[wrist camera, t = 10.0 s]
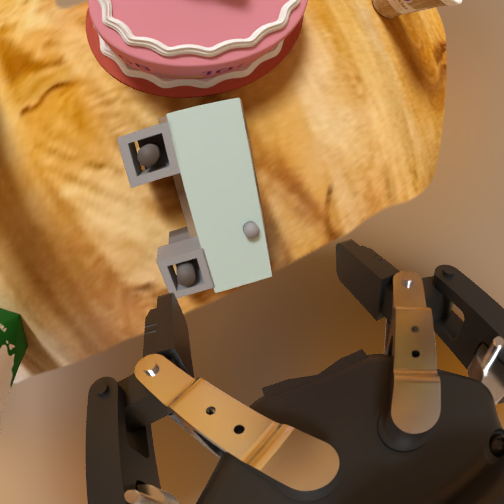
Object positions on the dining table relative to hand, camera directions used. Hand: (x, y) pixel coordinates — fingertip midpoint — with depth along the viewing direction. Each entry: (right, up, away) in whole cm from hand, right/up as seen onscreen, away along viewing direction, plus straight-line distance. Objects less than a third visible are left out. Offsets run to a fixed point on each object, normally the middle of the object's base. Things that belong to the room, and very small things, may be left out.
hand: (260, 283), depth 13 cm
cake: (-7, +29, +7) cm, 31 cm away
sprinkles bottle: (+18, +36, +10) cm, 42 cm away
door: (-6, +7, +14) cm, 17 cm away
